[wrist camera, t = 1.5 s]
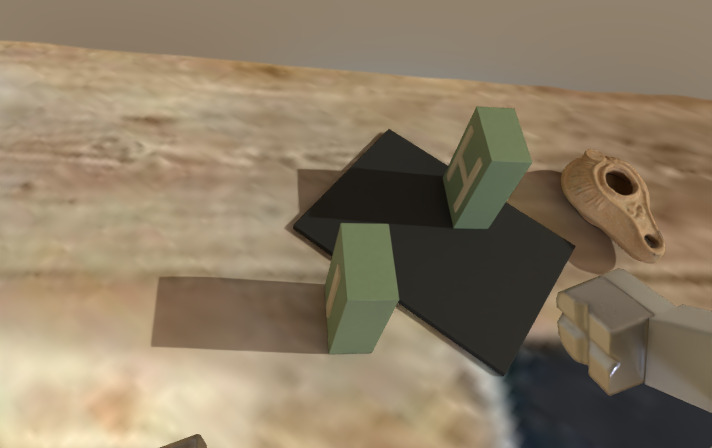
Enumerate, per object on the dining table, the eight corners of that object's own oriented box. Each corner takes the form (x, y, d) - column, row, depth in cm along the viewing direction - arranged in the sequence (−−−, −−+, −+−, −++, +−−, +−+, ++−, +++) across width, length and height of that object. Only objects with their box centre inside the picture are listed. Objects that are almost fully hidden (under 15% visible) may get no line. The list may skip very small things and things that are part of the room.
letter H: (451, 228, 52) (489, 160, 44) (440, 178, 55) (474, 106, 47) (488, 229, 52) (532, 162, 44) (475, 179, 56) (514, 108, 47)
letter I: (326, 354, 44) (343, 300, 35) (322, 286, 47) (337, 222, 39) (371, 353, 44) (399, 299, 36) (364, 286, 48) (388, 223, 39)
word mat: (292, 228, 50) (293, 225, 49) (387, 132, 58) (388, 128, 58) (502, 376, 45) (505, 374, 45) (572, 249, 54) (575, 245, 53)
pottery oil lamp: (607, 285, 51) (609, 232, 47) (546, 210, 60) (543, 159, 56) (696, 254, 51) (707, 196, 47) (622, 183, 60) (625, 129, 56)
